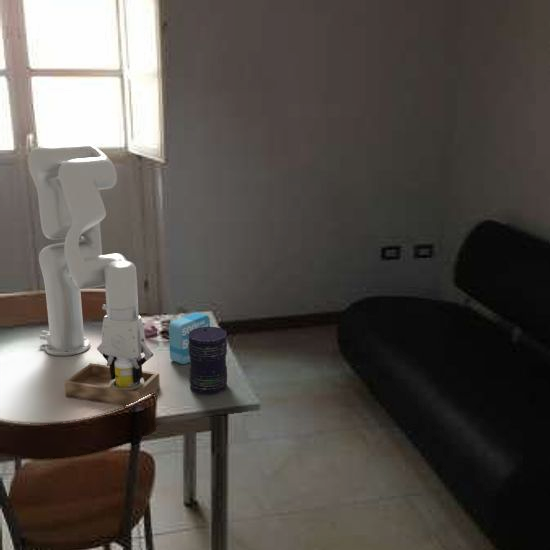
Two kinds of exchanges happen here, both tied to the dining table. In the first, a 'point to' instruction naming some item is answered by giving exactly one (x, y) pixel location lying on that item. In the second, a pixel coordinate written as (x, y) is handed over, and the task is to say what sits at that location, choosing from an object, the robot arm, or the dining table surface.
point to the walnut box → (108, 386)
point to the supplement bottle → (124, 373)
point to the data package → (184, 335)
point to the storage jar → (207, 360)
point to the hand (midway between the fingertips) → (126, 378)
